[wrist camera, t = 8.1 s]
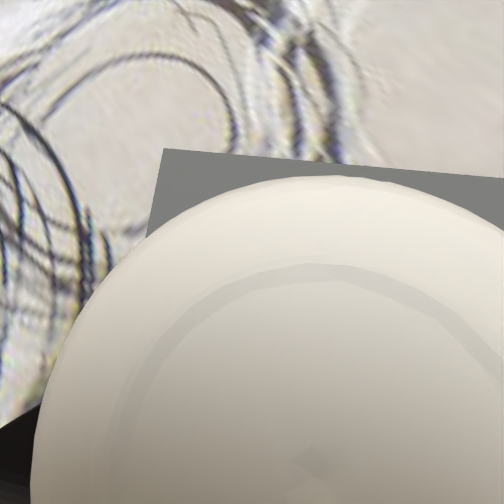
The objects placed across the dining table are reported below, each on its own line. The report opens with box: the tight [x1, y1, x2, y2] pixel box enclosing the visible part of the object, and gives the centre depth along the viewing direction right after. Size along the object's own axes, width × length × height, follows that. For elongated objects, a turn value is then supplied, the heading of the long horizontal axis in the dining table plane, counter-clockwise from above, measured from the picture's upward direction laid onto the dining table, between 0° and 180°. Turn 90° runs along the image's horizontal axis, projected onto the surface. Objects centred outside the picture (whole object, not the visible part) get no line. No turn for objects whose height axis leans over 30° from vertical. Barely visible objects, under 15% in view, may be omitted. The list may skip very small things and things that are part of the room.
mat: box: [145, 148, 504, 239], centre depth 18 cm, size 18×18×1 cm
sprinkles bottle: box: [30, 175, 504, 504], centre depth 9 cm, size 5×5×14 cm
